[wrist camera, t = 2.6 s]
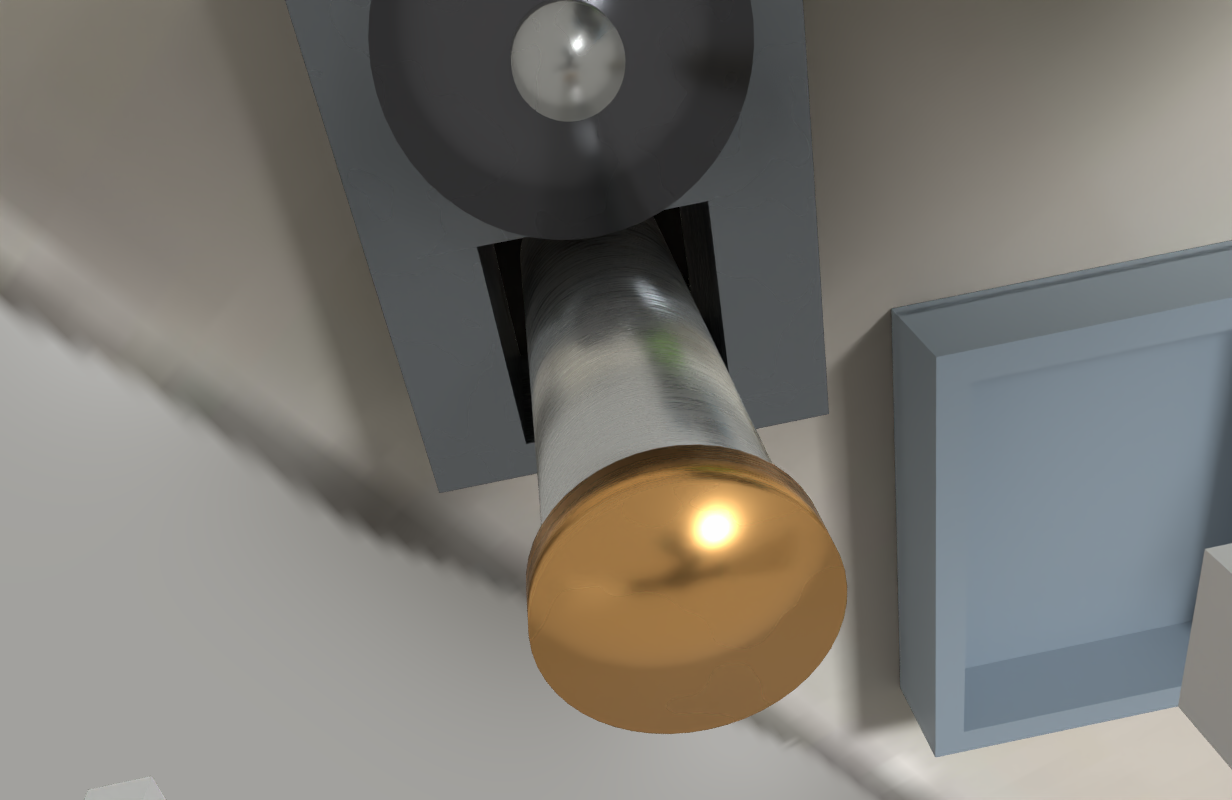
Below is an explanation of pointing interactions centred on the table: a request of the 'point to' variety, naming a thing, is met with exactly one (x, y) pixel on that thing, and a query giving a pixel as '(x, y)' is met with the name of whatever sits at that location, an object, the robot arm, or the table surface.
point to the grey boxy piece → (570, 184)
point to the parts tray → (1059, 493)
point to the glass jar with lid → (659, 504)
